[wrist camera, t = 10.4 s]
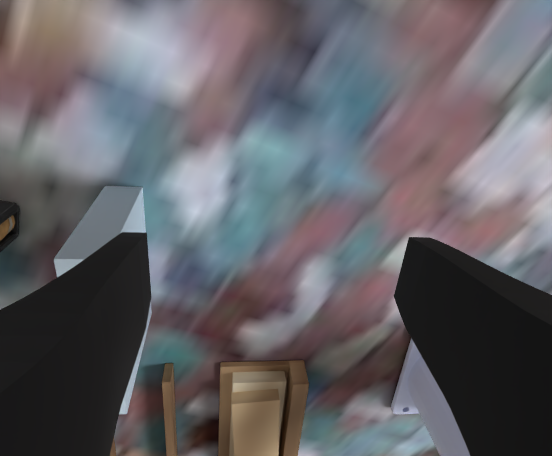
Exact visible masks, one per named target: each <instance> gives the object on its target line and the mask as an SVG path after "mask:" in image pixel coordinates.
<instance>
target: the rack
mask: <svg viewBox="0 0 552 456" xmlns="http://www.w3.org/2000/svg"><path fill="white" fill-rule="evenodd" d="M262 371H285V377H286V388H285V396H284V404H283V412H282V420H281V428H280V436H279V456H298V450H299V443H300V437H301V431H302V425H303V419H304V412H305V406H306V400H307V394H308V388H309V382H308V377H307V373H306V368H305V364H304V360H297V361H253V362H221V363H220V403H219V442H218V456H229V446H230V423H231V401H232V400H231V392H232V378H233V372H262ZM162 391H163V407H164V422H165V438H166V454H167V456H177V437H176V415H175V392H174V370H173V363H165V367H164V373H163V379H162ZM110 456H116V450H115V443H114V438H113V443H112V447H111V452H110Z"/></svg>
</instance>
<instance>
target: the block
mask: <svg viewBox="0 0 552 456" xmlns="http://www.w3.org/2000/svg"><path fill="white" fill-rule="evenodd" d="M122 232H142V233H146V228H145V215H144V201H143V187H127V186H105V187H104V188H103V190H102V191H101V192H100V194H99V195H98V197H97V198H96V199H95V201H94V202H93V204H92V205H91V207H90V208H89V209H88V211H87V212H86V214H85V215H84V217H83V218H82V219H81V221H80V222H79V224H78V225H77V226H76V228H75V229H74V231H73V232H72V234H71V235H70V236H69V238H68V239H67V241H66V242H65V244H64V245H63V246H62V248H61V249H60V251H59V252H58V253H57V255H56V256H55V258H54V263H55V269H56V274H57V277H59V276H61V275H62V274H64V273H65V272H67V271H68V270H70V269H71V268H73V267H74V266H76V265H77V264H79V263H80V262H81V261H83V260H84V259H86V258H87V257H88V256H90V255H91V254H93V253H94V252H95V251H97V250H98V249H99V248H101V247H102V246H103V245H105V244H106V243H107V242H109V241H110V240H111V239H113V238H114V237H116V236H117V235H119V234H120V233H122ZM151 314H152V311H151V302H150V308H149V314H148V319H147V325H146V330H145V333H144V336H143V339H142V343H141V346H140V349H139V352H138V355H137V358H136V362H135V365H134V368H133V371H132V374H131V377H130V380H129V383H128V386H127V389H126V393H125V396H124V399H123V402H122V405H121V409H120V412H119V414H127V412H128V407H129V403H130V399H131V395H132V391H133V387H134V383H135V379H136V375H137V371H138V367H139V363H140V359H141V354H142V350H143V346H144V342H145V338H146V334H147V330H148V326H149V322H150V318H151Z"/></svg>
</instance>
